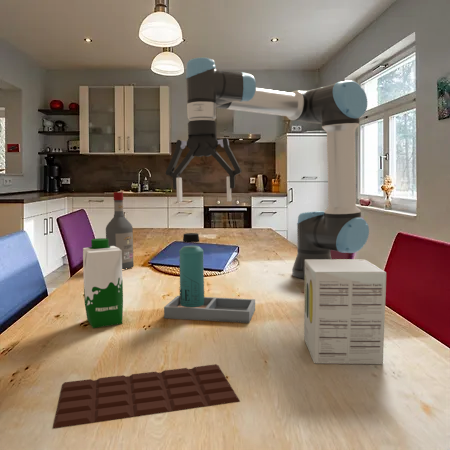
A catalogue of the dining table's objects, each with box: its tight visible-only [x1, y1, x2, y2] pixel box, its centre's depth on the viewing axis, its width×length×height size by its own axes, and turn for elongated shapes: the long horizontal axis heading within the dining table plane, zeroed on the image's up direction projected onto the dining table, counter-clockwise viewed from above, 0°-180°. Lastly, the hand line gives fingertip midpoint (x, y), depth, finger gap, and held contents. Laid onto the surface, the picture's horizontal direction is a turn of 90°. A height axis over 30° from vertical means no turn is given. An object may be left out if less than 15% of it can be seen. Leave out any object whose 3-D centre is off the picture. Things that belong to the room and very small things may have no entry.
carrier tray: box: [163, 295, 256, 324], centre depth 111 cm, size 21×11×3 cm, turn 79°
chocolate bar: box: [52, 363, 241, 429], centre depth 70 cm, size 27×14×1 cm, turn 105°
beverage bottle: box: [178, 232, 205, 307], centre depth 111 cm, size 6×7×20 cm
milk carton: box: [82, 237, 124, 329], centre depth 104 cm, size 9×9×20 cm
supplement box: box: [303, 258, 387, 365], centre depth 86 cm, size 13×13×18 cm
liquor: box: [105, 191, 135, 269], centre depth 170 cm, size 9×9×30 cm
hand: (204, 201), depth 116 cm, fingers open, 13 cm apart
